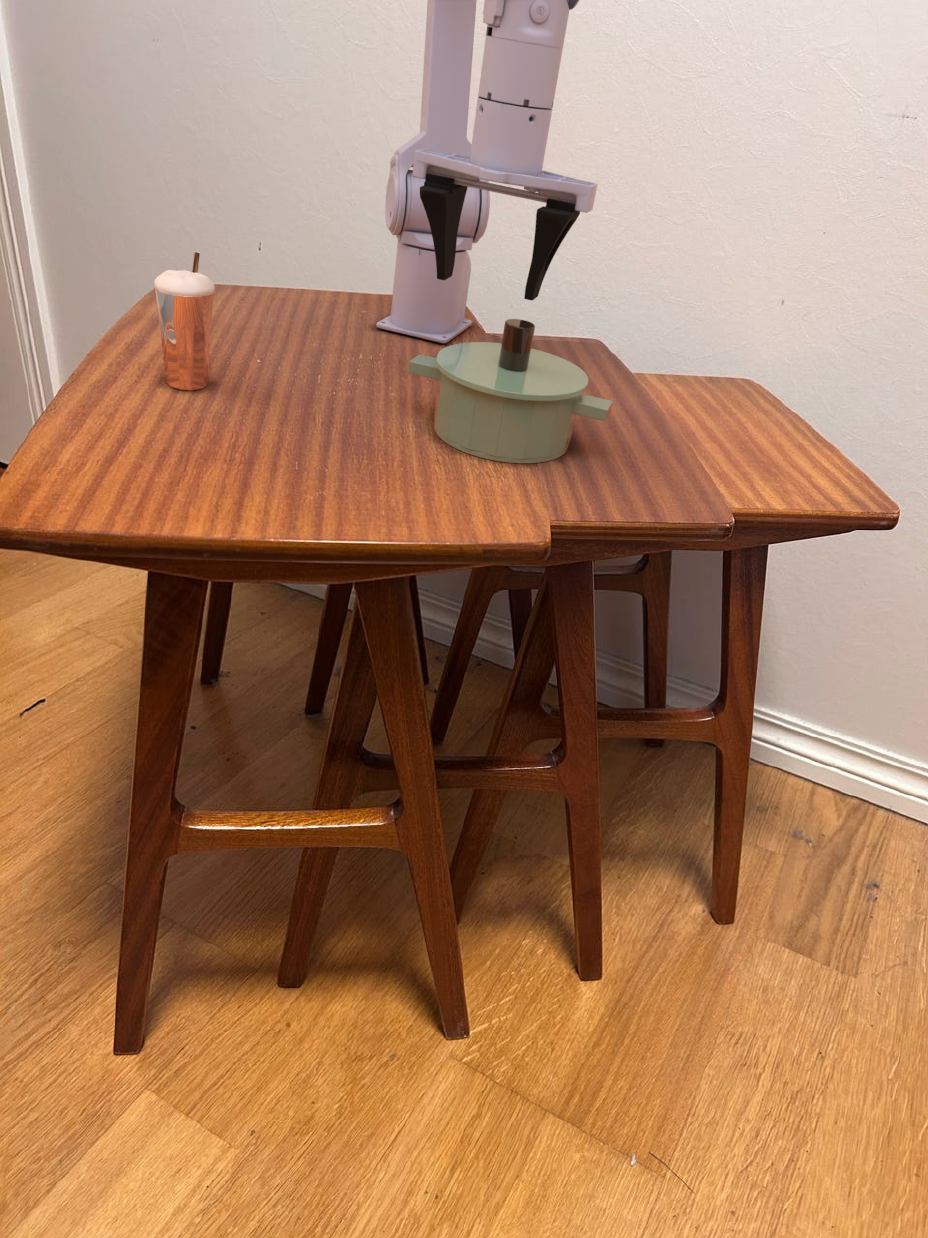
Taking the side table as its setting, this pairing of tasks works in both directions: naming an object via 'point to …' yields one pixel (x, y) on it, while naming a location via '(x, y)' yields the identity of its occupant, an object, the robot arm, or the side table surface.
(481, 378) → the pot lid
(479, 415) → the green cooking pot
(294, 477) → the side table surface
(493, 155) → the robot arm
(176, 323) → the milkshake
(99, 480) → the side table surface
